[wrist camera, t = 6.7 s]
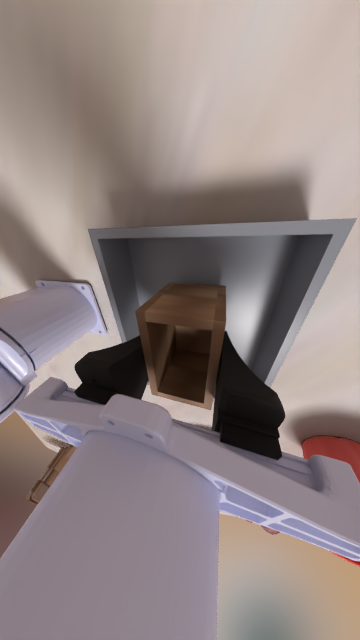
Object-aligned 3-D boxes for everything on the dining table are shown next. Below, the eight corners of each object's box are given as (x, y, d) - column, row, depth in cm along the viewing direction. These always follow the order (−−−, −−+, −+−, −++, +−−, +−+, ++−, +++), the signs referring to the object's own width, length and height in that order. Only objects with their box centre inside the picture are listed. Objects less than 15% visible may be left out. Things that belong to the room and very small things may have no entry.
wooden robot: (69, 452, 106) (36, 499, 87) (59, 446, 105) (23, 493, 86) (83, 450, 84) (42, 511, 66) (71, 442, 83) (25, 503, 64)
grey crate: (148, 356, 23) (134, 380, 19) (124, 230, 14) (87, 229, 10) (251, 377, 19) (257, 412, 15) (309, 223, 10) (356, 218, 6)
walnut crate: (173, 348, 17) (151, 394, 12) (169, 282, 13) (135, 311, 8) (215, 355, 16) (211, 410, 11) (225, 285, 12) (226, 322, 7)
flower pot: (338, 421, 19) (420, 558, 11) (406, 459, 19) (533, 620, 11) (275, 439, 25) (297, 535, 17) (327, 468, 25) (373, 576, 17)
